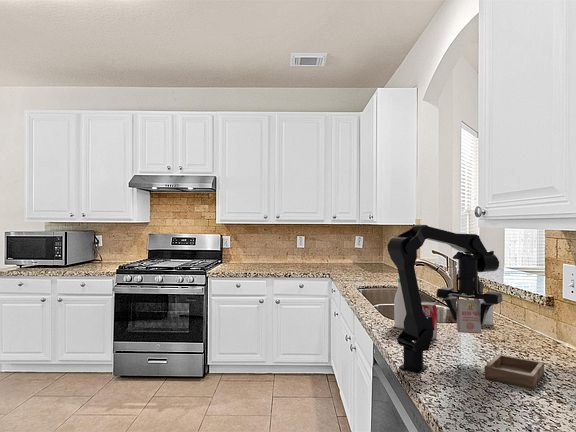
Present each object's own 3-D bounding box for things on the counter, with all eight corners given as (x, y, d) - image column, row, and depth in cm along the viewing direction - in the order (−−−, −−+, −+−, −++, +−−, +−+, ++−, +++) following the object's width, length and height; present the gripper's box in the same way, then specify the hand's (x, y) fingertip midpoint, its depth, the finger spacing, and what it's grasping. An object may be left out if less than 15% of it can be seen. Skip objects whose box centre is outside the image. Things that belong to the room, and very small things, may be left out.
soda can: (421, 334, 167) (421, 300, 167) (440, 337, 163) (439, 302, 163) (414, 338, 162) (413, 303, 162) (433, 341, 157) (432, 305, 157)
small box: (473, 320, 189) (473, 295, 189) (487, 320, 188) (487, 296, 188) (479, 324, 181) (479, 299, 181) (493, 324, 180) (493, 299, 181)
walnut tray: (533, 389, 113) (533, 376, 113) (484, 379, 121) (484, 366, 121) (544, 374, 123) (543, 362, 123) (498, 365, 131) (498, 354, 131)
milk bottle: (402, 330, 174) (402, 280, 174) (390, 325, 181) (390, 277, 181) (417, 327, 177) (417, 278, 177) (405, 323, 184) (405, 276, 184)
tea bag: (456, 329, 141) (456, 298, 141) (479, 330, 139) (479, 299, 139) (458, 332, 137) (457, 300, 137) (481, 333, 135) (480, 301, 135)
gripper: (506, 272, 138) (507, 321, 138) (448, 268, 150) (448, 314, 150) (496, 276, 130) (497, 329, 130) (435, 272, 142) (436, 319, 142)
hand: (468, 322), depth 138 cm, fingers closed on tea bag, 8 cm apart
